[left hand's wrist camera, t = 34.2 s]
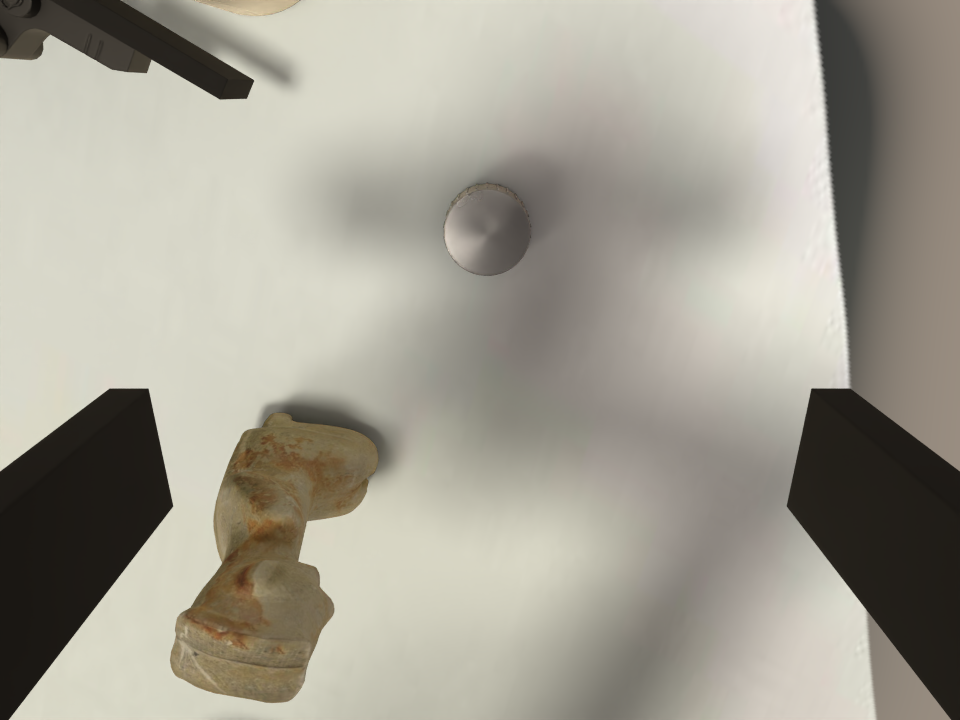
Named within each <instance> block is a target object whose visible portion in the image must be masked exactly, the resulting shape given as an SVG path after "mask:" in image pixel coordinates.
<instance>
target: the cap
mask: <svg viewBox="0 0 960 720" xmlns="http://www.w3.org/2000/svg"><path fill="white" fill-rule="evenodd" d="M445 217H446V220H445V222H444V226H443V228H444V236H443V237H444V240H445V244H446V248H447V250H448V252H449V254H450V255H451V257H452V258H453V260H454V261H455V262H456V263H457V264H458V265H459V266H460V267H462V268H463V269H465V270H467V271H468V272H471V273H473V274H477V275H483V276H491V275H497V274H501V273H503V272H506V271H508V270H509V269H511V268H512V267H514V266H515V265H516V264H517V263H518V262H519V261H520V260H521V259H522V257H523V256H524V254H525V252H526V250H527V248H528V245H529V241H530V238H531V235H530V227H531V224H530V221H529V220H528V217H529V215H528V212H527V210H526V211H525V208H524V204H523V202H522V201H520V200H519V199H518V197H517V195H516V194H513V193H512V192H511V191H509V190H508V188H507V187H506V188H504V187H501V186H498V184H496V185H494V184H488V183H486V184H481V185H478V184H476V186H473V187H471V188H466V190H465V191H463V192H462V193H461V194H458V196H457V198H456V199H455V200H454V202H453V201H452V202H451V205H450V209H449V211H448V210H447V213H446V216H445Z"/></svg>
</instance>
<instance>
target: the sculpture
mask: <svg viewBox="0 0 960 720" xmlns="http://www.w3.org/2000/svg"><path fill="white" fill-rule="evenodd" d="M377 464H378V452H377V448H376V446H375V445H374V443H373V442H372V441H371V440H370V439H369V438H367V437H366V436H365V435H363V434H361V433H359V432H356V431H353V430H350V429H346V428H342V427H336V426H329V425H321V424H309V423H300V422H295V421H293V418H292V416H291V415H289V414H287V413H273V414H271V415H270V416H269V417H268V419H267V420H266V421H265V422H264V424H263V427H262V428H256V429H249V430H247V431H245V432H244V433H243V434H242V436H241V439H240V441H239V442H238V444H237V446H236V448H235V450H234V452H233V455H232V457H231V459H230V462H229V464H228V467H227V469H226V472H225V475H224V478H223V481H222V484H221V487H220V490H219V494H218V497H217V500H216V506H215V512H214V533H215V538H216V544H217V549H218V552H219V556H220V559H221V561H222V565H221V566H220V568H219V569H218V571H217V572H216V573H215V575H214V576H213V577H212V578H211V580H210V581H209V582H208V583H207V584H206V586H205V587H204V588H203V589H202V591H201V592H200V593H199V595H198V596H197V598H196V599H195V601H194V603H193V605H192V606H191V608H189V609H187V610H186V611H184V612H182V613H181V614H180V615H179V616H178V617H177V621H176V627H175V632H176V638H175V643H174V645H173V648H172V651H171V657H170V663H171V668H172V670H173V672H174V674H175V675H176V676H177V677H179V678H181V679H184V680H185V681H187V682H189V683H190V684H192V685H194V686H196V687H198V688H201V689H204V690H206V691H210V692H213V693H217V694H223V695H229V696H234V697H240V698H246V699H252V700H257V701H262V702H266V703H279V702H287V701H290V700H291V699H293V698H294V697H295V696H296V694H297V693H298V692H299V690H300V689H301V688H302V685H303V683H304V681H305V675H306V669H307V666H308V662H309V660H310V657H311V655H312V653H313V651H314V649H315V646H316V644H317V641H318V638H319V635H320V633H321V630H322V629H323V627H324V626H325V625H326V624H327V622H328V621H329V620H330V619H331V617H332V616H333V614H334V604H333V602H332V600H331V598H330V597H329V596H328V595H327V594H326V593H325V592H324V591H323V590H322V589H321V588H320V576H319V572H318V570H317V568H316V567H314V566H311V565H307V564H304V563H300V562H298V559H299V554H300V550H301V545H302V541H303V537H304V532H305V528H306V523H307V521H312V520H320V519H326V518H332V517H338V516H342V515H345V514H348V513H350V512H352V511H353V510H354V509H355V508H356V507H357V506H358V505H359V504H360V503H361V502H362V500H363V498H364V497H365V494H366V492H367V486H368V479H367V477H368V476H370V475H372V474H373V473H374V472H375V470H376V467H377Z"/></svg>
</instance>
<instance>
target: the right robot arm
mask: <svg viewBox="0 0 960 720" xmlns="http://www.w3.org/2000/svg"><path fill="white" fill-rule="evenodd" d="M50 34H51V35H53V36H54V37H56V38H58V39H60V40H61V41H63V42H65V43H66V44H68V45H70V46H72V47H73V48H75V49H77V50H79V51H80V52H82V53H85V54H86V55H87V56H89V57H91V58H93V59H94V60H97V61H98V62H100V63H101V64H103V65H105V66H107V67H108V68H110V69H112V70H118V71H124V72H136V73H147V71H148V68H149V65H150V62H151V59H152V60H153V61H155V62H157V63H159V64H160V65H162V66H164V67H165V68H167V69H169V70H171V71H172V72H174V73H176V74H177V75H179V76H181V77H183V78H184V79H186V80H188V81H189V82H191V83H193V84H195V85H196V86H198V87H200V88H201V89H203V90H205V91H206V92H208V93H210V94H212V95H213V96H215V97H217V98H218V99H247V97H248V94H249V92H250V90H251V87H252V85H253V82H254V80H253V79H251V78H249V77H248V76H246V75H244V74H243V73H241V72H239V71H238V70H236V69H234V68H233V67H231V66H229V65H228V64H226V63H224V62H223V61H221V60H219V59H218V58H216V57H214V56H213V55H211V54H209V53H207V52H206V51H204V50H202V49H201V48H199V47H197V46H196V45H194V44H192V43H191V42H189V41H187V40H186V39H184V38H182V37H181V36H179V35H177V34H176V33H174V32H172V31H171V30H169V29H167V28H166V27H164V26H162V25H161V24H159V23H157V22H156V21H154V20H152V19H151V18H149V17H147V16H145V15H144V14H142V13H140V12H139V11H137V10H135V9H134V8H132V7H130V6H129V5H127V4H125V3H124V2H122V1H120V0H0V58H9V59H23V60H34V59H37V58H38V57H40V56H41V54H42V52H43V41H44V40H45V39H46V38H47V37H48V36H49V35H50Z"/></svg>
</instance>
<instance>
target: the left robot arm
mask: <svg viewBox="0 0 960 720" xmlns="http://www.w3.org/2000/svg"><path fill="white" fill-rule="evenodd" d="M172 507H173V503H172V498H171V493H170V489H169V484H168V479H167V474H166V470H165V465H164V460H163V455H162V451H161V446H160V441H159V436H158V432H157V427H156V422H155V417H154V413H153V408H152V403H151V398H150V394H149V389H109V390H107V391H106V392H105V393H103V394H102V395H101V396H99V397H98V398H97V399H95V400H94V401H93V402H91V403H90V404H89V405H87V406H86V407H85V408H84V409H82V410H81V411H80V412H78V413H77V414H76V415H74V416H73V417H72V418H70V419H69V420H68V421H66V422H65V423H64V424H62V425H61V426H60V427H58V428H57V429H56V430H54V431H53V432H52V433H50V434H49V435H48V436H47V437H45V438H44V439H43V440H41V441H40V442H39V443H37V444H36V445H35V446H33V447H32V448H31V449H29V450H28V451H27V452H25V453H24V454H23V455H21V456H20V457H19V458H17V459H16V460H15V461H13V462H12V463H11V464H10V465H8V466H7V467H6V468H4V469H3V470H2V471H0V720H9V719H10V717H11V716H12V715H13V714H14V712H15V711H16V710H17V708H18V707H19V706H20V704H21V703H22V702H23V701H24V699H25V698H26V697H27V695H28V694H29V693H30V691H31V690H32V689H33V688H34V686H35V685H36V684H37V682H38V681H39V680H40V678H41V677H42V676H43V675H44V673H45V672H46V671H47V669H48V668H49V667H50V666H51V664H52V663H53V662H54V660H55V659H56V658H57V656H58V655H59V654H60V653H61V651H62V650H63V649H64V647H65V646H66V645H67V643H68V642H69V641H70V640H71V638H72V637H73V636H74V634H75V633H76V632H77V630H78V629H79V628H80V627H81V625H82V624H83V623H84V621H85V620H86V619H87V618H88V616H89V615H90V614H91V612H92V611H93V610H94V608H95V607H96V606H97V605H98V603H99V602H100V601H101V599H102V598H103V597H104V595H105V594H106V593H107V592H108V590H109V589H110V588H111V586H112V585H113V584H114V583H115V581H116V580H117V579H118V577H119V576H120V575H121V573H122V572H123V571H124V570H125V568H126V567H127V566H128V564H129V563H130V562H131V560H132V559H133V558H134V557H135V555H136V554H137V553H138V551H139V550H140V549H141V547H142V546H143V545H144V544H145V542H146V541H147V540H148V538H149V537H150V536H151V535H152V533H153V532H154V531H155V529H156V528H157V527H158V525H159V524H160V523H161V522H162V520H163V519H164V518H165V516H166V515H167V514H168V512H169V511H170V510H171V509H172ZM787 507H788V509H789V510H790V511H791V512H792V514H793V515H794V516H795V518H796V519H797V520H798V522H799V523H800V524H801V525H802V527H803V528H804V529H805V531H806V532H807V533H808V535H809V536H810V537H811V538H812V540H813V541H814V542H815V544H816V545H817V546H818V547H819V549H820V550H821V551H822V553H823V554H824V555H825V557H826V558H827V559H828V560H829V562H830V563H831V564H832V566H833V567H834V568H835V570H836V571H837V572H838V573H839V575H840V576H841V577H842V579H843V580H844V581H845V583H846V584H847V585H848V586H849V588H850V589H851V590H852V592H853V593H854V594H855V595H856V597H857V598H858V599H859V601H860V602H861V603H862V605H863V606H864V607H865V608H866V610H867V611H868V612H869V614H870V615H871V616H872V618H873V619H874V620H875V621H876V623H877V624H878V625H879V627H880V628H881V629H882V630H883V632H884V633H885V634H886V636H887V637H888V638H889V640H890V641H891V642H892V643H893V645H894V646H895V647H896V649H897V650H898V651H899V653H900V654H901V655H902V656H903V658H904V659H905V660H906V662H907V663H908V664H909V665H910V667H911V668H912V669H913V671H914V672H915V673H916V675H917V676H918V677H919V678H920V680H921V681H922V682H923V684H924V685H925V686H926V687H927V689H928V690H929V691H930V693H931V694H932V695H933V697H934V698H935V699H936V701H937V702H938V703H939V704H940V706H941V707H942V708H943V710H944V711H945V712H946V714H947V715H948V716H949V717H950V719H951V720H960V471H958V470H957V469H956V468H954V467H953V466H952V465H950V464H949V463H948V462H947V461H945V460H944V459H942V458H941V457H940V456H939V455H937V454H936V453H935V452H933V451H932V450H931V449H929V448H928V447H927V446H925V445H924V444H923V443H921V442H920V441H919V440H917V439H916V438H915V437H913V436H912V435H911V434H910V433H908V432H907V431H905V430H904V429H903V428H902V427H900V426H899V425H898V424H896V423H895V422H894V421H892V420H891V419H890V418H888V417H887V416H886V415H884V414H883V413H882V412H880V411H879V410H878V409H876V408H875V407H874V406H872V405H871V404H870V403H869V402H867V401H866V400H865V399H863V398H862V397H861V396H859V395H858V394H857V393H855V392H854V391H853V390H851V389H811V394H810V398H809V403H808V408H807V413H806V417H805V422H804V427H803V432H802V436H801V441H800V446H799V451H798V455H797V460H796V465H795V470H794V474H793V479H792V484H791V489H790V493H789V498H788V503H787Z"/></svg>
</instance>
